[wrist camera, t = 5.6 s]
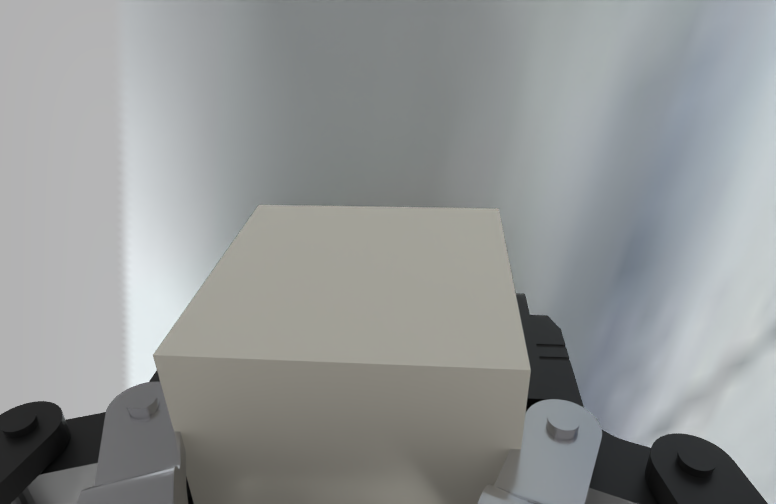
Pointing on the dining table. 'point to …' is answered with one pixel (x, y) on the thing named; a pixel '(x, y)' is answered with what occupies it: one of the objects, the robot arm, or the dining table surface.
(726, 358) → the dining table surface
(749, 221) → the dining table surface
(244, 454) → the cream cube
